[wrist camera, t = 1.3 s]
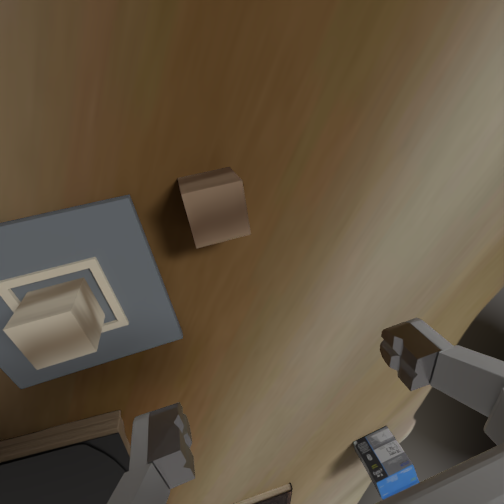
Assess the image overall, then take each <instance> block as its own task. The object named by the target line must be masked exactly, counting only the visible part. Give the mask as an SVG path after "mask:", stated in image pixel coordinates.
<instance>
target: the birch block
mask: <svg viewBox="0 0 504 504" xmlns="http://www.w3.org/2000/svg"><path fill="white" fill-rule="evenodd" d="M104 318H105V314H104V312H103V310H102V308H101V307H100V305H99V303H98V301H97V300H96V298H95V296H94V294H93V292H92V291H91V289H90V287H89V285H88V284H87V282H86V280H85V278H84V277H83V278H79V279H76V280H72V281H68V282H64V283H60V284H57V285H53V286H49V287H45V288H41V289H38V290H34V291H30V292H27V293H26V295H25V297H24V298H23V300H22V301H21V303H20V304H19V306H18V307H17V309H16V310H15V312H14V314H13V315H12V317H11V318H10V320H9V321H8V323H7V324H6V326H5V327H4V329H3V331H4V332H5V333H6V334H7V335H8V337H9V338H10V339H11V340H12V341H13V343H14V344H15V345H16V346H17V347H18V348H19V350H20V351H21V352H22V353H23V354H24V355H25V357H26V358H27V359H28V360H29V361H30V362H31V364H32V365H33V366H34V367H35V368H36V369H37V370H39V369H42V368H45V367H48V366H52V365H55V364H58V363H61V362H65V361H68V360H71V359H74V358H78V357H81V356H84V355H87V354H91V353H94V352H97V349H98V344H99V340H100V336H101V331H102V327H103V323H104Z"/></svg>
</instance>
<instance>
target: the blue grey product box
mask: <svg viewBox="0 0 504 504" xmlns="http://www.w3.org/2000/svg"><path fill="white" fill-rule="evenodd" d="M353 443H354V448H355V451H356V452H357V454H358V456H359V458H360V460H361V461H362V463H363V465H364V467H365V469H366V471H367V472H368V474H369V476H370V478H371V480H372V482H373V483H374V485H375V487H376V489H377V491H378V493H379V495H380V496H381V498H382V499H383V500H384V499H386V498H388V497H390V496H392V495H394V494H397V493H399V492H401V491H403V490H405V489H407V488H409V487H411V486H413V485H416V484H418V483H420V482H419V480H418V477H417V475H416V472H415V469H414V466H413V464H412V462H411V461H410V459H409V458H408V456H407V455H406V453H405V452H404V450H403V449H402V447H401V446H400V444H399V443H398V442H397V440H396V439H395V437H394V436H393V434H392V433H391V431H390V430H389V429H388V427H387V426H385V427H383V428H381V429H379V430H377V431H375V432H373V433H371V434H369V435H367V436H365V437H363V438H361V439H359V440H357V441H354V442H353Z"/></svg>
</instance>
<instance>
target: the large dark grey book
mask: <svg viewBox="0 0 504 504" xmlns="http://www.w3.org/2000/svg"><path fill="white" fill-rule="evenodd" d="M120 415H121V411H120V410H118V411H114V412H110V413H107V414H103V415H99V416H95V417H91V418H87V419H83V420H79V421H75V422H71V423H67V424H63V425H59V426H55V427H52V428H48V429H45V430H42V431H39V432H36V433H33V434H29V435H25V436H21V437H17V438H13V439H9V440H5V441H1V442H0V504H107V503H108V501H109V499H110V497H111V495H112V494H113V492H114V490H115V488H116V487H117V485H118V483H119V481H120V479H121V478H122V476H123V474H124V473H125V472H128V471H129V463H130V452H131V447H130V444H129V442H128V439H127V437H126V434H125V429H124V422H123V420H122V418H121V416H120Z"/></svg>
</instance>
